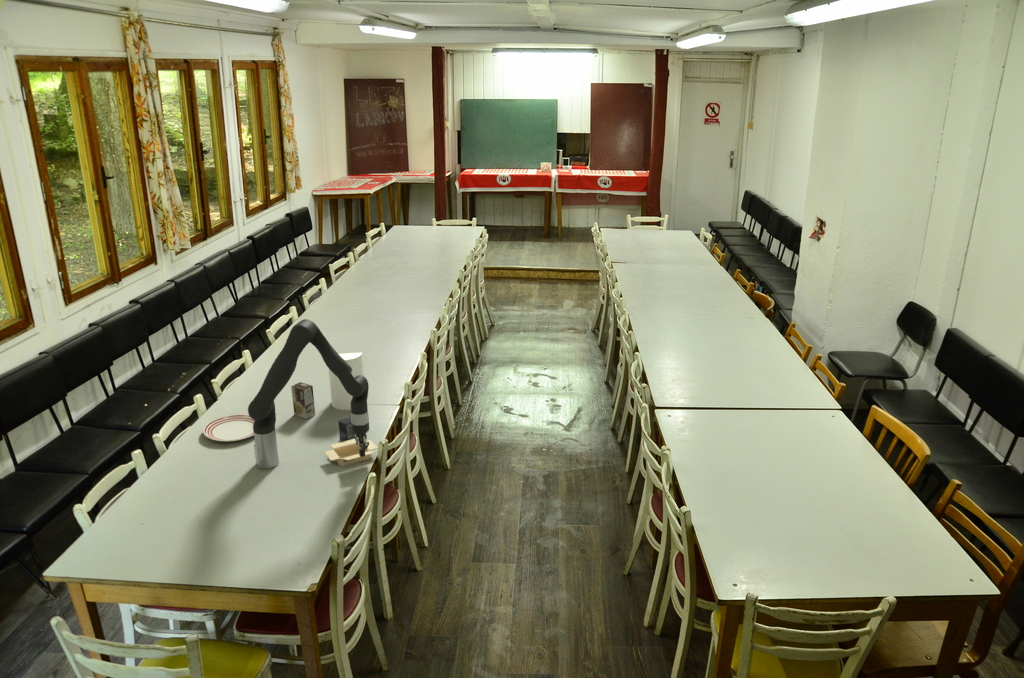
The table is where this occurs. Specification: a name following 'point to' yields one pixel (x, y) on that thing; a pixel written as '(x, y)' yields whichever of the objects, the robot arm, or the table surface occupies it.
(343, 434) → the small box
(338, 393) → the cylinder
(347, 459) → the front flap
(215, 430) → the dinner plate
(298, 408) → the coffee box
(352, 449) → the carton
